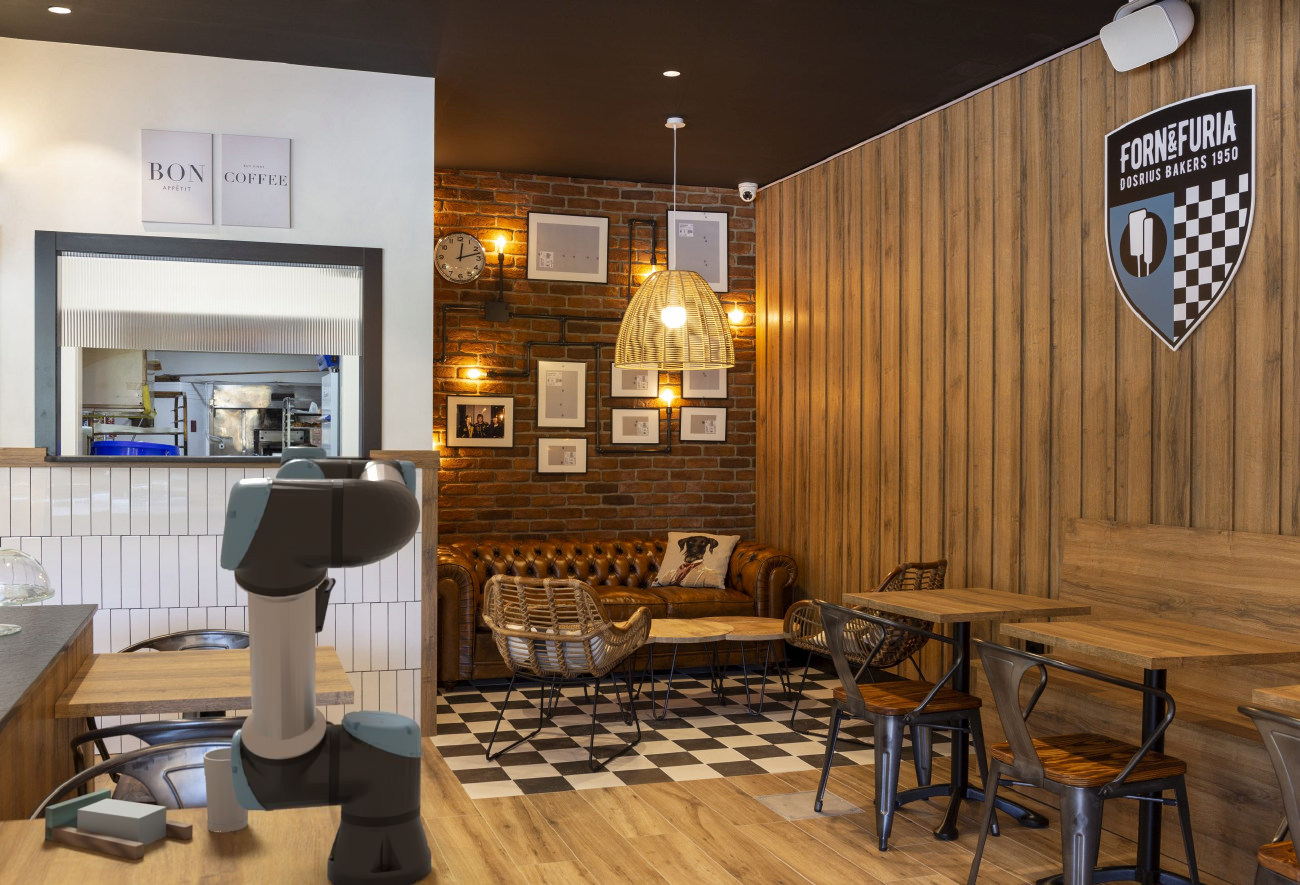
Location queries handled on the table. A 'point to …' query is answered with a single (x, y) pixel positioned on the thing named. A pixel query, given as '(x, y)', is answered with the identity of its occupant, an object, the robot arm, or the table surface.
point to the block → (124, 820)
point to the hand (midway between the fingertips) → (299, 673)
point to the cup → (222, 793)
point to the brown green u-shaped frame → (65, 831)
